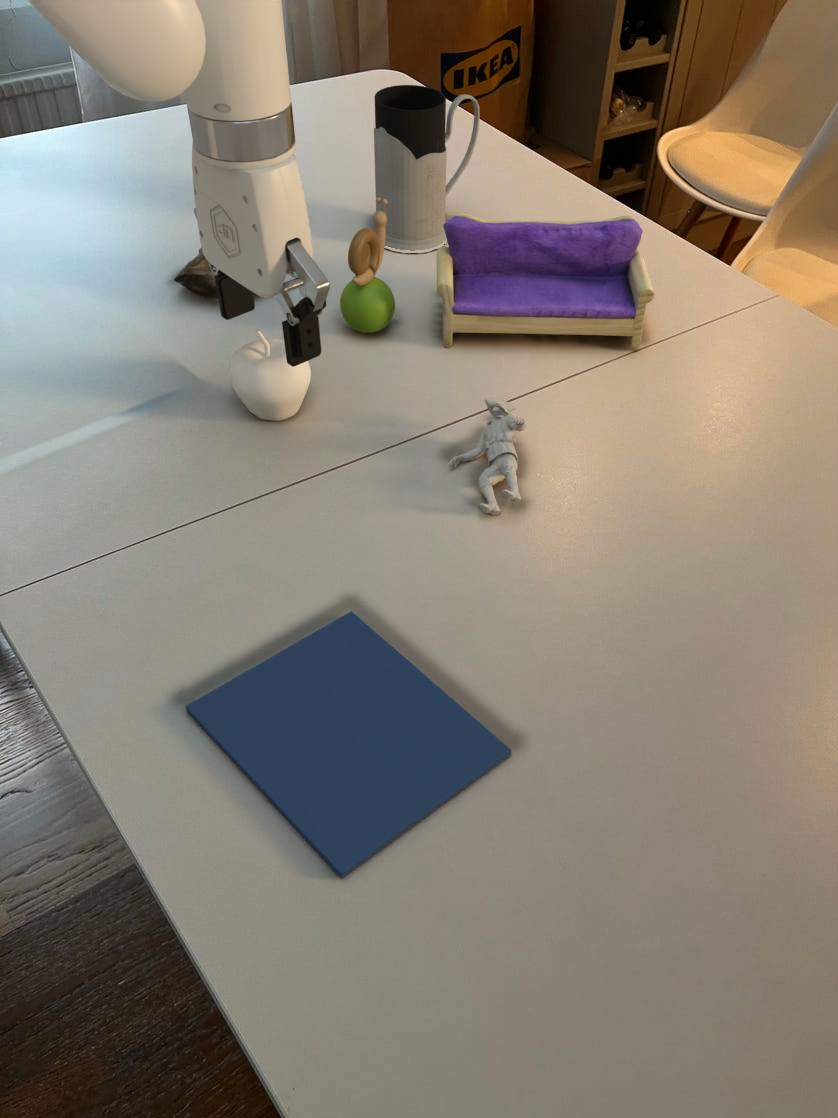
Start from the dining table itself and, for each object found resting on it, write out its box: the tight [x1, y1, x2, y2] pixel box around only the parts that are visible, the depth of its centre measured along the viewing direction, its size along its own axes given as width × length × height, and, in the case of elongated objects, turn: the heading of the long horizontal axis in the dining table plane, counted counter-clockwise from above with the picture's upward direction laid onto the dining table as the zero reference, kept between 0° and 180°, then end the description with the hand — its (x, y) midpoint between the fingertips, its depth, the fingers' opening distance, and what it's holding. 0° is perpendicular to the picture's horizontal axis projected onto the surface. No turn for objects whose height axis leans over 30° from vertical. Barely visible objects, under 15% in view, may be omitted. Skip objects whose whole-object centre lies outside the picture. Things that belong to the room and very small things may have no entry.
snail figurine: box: [339, 197, 396, 334], centre depth 101 cm, size 5×6×12 cm
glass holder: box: [373, 84, 481, 251], centre depth 115 cm, size 9×14×15 cm, turn 132°
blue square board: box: [185, 611, 512, 879], centre depth 69 cm, size 14×17×1 cm
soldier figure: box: [448, 397, 527, 516], centre depth 88 cm, size 8×5×12 cm
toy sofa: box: [435, 211, 655, 351], centre depth 103 cm, size 21×9×10 cm, turn 92°
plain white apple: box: [228, 329, 312, 422], centre depth 91 cm, size 7×7×8 cm
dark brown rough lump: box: [173, 247, 219, 299], centre depth 107 cm, size 8×7×10 cm
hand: (270, 336), depth 89 cm, fingers open, 9 cm apart
